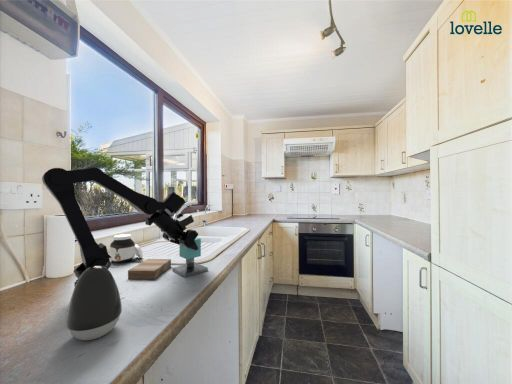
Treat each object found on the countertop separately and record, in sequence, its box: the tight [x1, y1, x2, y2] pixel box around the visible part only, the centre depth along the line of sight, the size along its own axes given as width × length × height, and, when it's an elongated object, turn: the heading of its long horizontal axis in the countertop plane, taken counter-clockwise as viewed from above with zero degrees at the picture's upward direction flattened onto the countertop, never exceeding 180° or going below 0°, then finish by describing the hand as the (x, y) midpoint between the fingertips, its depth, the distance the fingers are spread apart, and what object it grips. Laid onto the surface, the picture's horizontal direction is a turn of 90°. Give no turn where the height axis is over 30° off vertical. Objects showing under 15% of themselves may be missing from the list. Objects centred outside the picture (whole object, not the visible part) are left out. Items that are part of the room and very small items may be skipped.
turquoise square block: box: [179, 237, 202, 260], centre depth 91 cm, size 6×6×7 cm
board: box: [127, 258, 172, 280], centre depth 90 cm, size 14×10×3 cm
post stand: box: [171, 258, 209, 278], centre depth 91 cm, size 10×10×7 cm
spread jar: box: [109, 233, 144, 264], centre depth 106 cm, size 12×11×12 cm
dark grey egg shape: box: [65, 262, 123, 341], centre depth 52 cm, size 10×10×15 cm
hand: (193, 247), depth 92 cm, fingers closed on turquoise square block, 6 cm apart
